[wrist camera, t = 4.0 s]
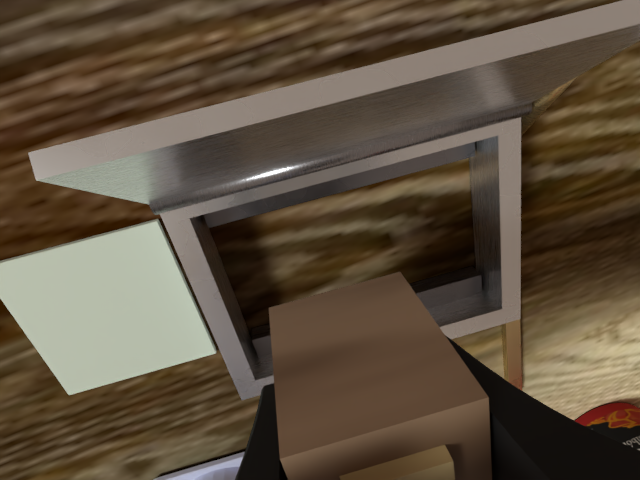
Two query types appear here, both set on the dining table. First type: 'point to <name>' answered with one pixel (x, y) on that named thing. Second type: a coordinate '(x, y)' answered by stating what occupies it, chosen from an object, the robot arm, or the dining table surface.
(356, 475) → the walnut block
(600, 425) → the canned food
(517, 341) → the brass bar
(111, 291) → the green rubber mat
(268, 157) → the propped lid
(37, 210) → the dining table surface
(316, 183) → the aluminium case
